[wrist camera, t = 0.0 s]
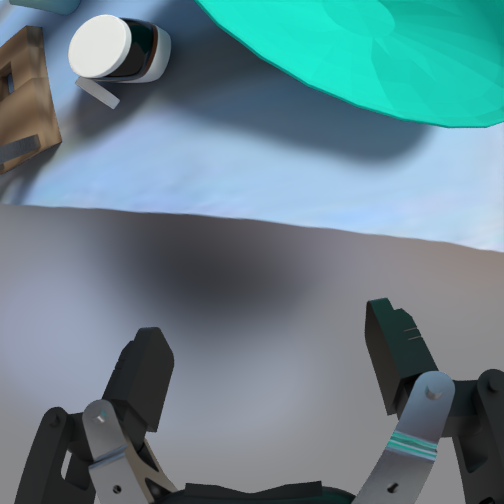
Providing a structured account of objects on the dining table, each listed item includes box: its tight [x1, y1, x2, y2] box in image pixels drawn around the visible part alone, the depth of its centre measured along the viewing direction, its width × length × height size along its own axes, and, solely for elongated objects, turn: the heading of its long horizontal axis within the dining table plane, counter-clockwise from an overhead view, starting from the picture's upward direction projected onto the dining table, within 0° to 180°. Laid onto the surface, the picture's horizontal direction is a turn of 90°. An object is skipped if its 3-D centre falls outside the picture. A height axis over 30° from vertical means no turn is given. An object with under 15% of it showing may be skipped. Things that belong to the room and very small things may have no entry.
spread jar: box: [68, 15, 171, 109], centre depth 25 cm, size 12×11×12 cm
